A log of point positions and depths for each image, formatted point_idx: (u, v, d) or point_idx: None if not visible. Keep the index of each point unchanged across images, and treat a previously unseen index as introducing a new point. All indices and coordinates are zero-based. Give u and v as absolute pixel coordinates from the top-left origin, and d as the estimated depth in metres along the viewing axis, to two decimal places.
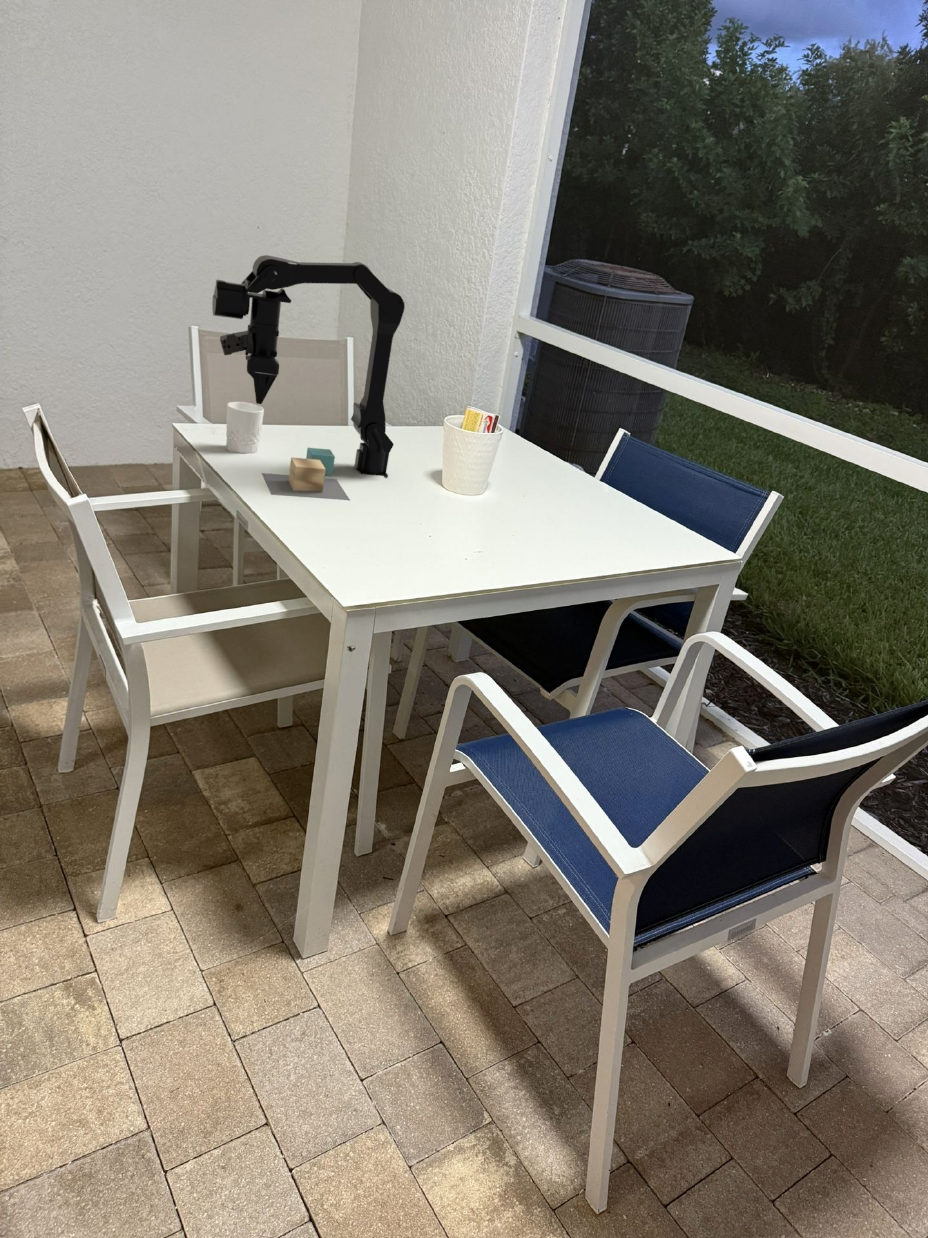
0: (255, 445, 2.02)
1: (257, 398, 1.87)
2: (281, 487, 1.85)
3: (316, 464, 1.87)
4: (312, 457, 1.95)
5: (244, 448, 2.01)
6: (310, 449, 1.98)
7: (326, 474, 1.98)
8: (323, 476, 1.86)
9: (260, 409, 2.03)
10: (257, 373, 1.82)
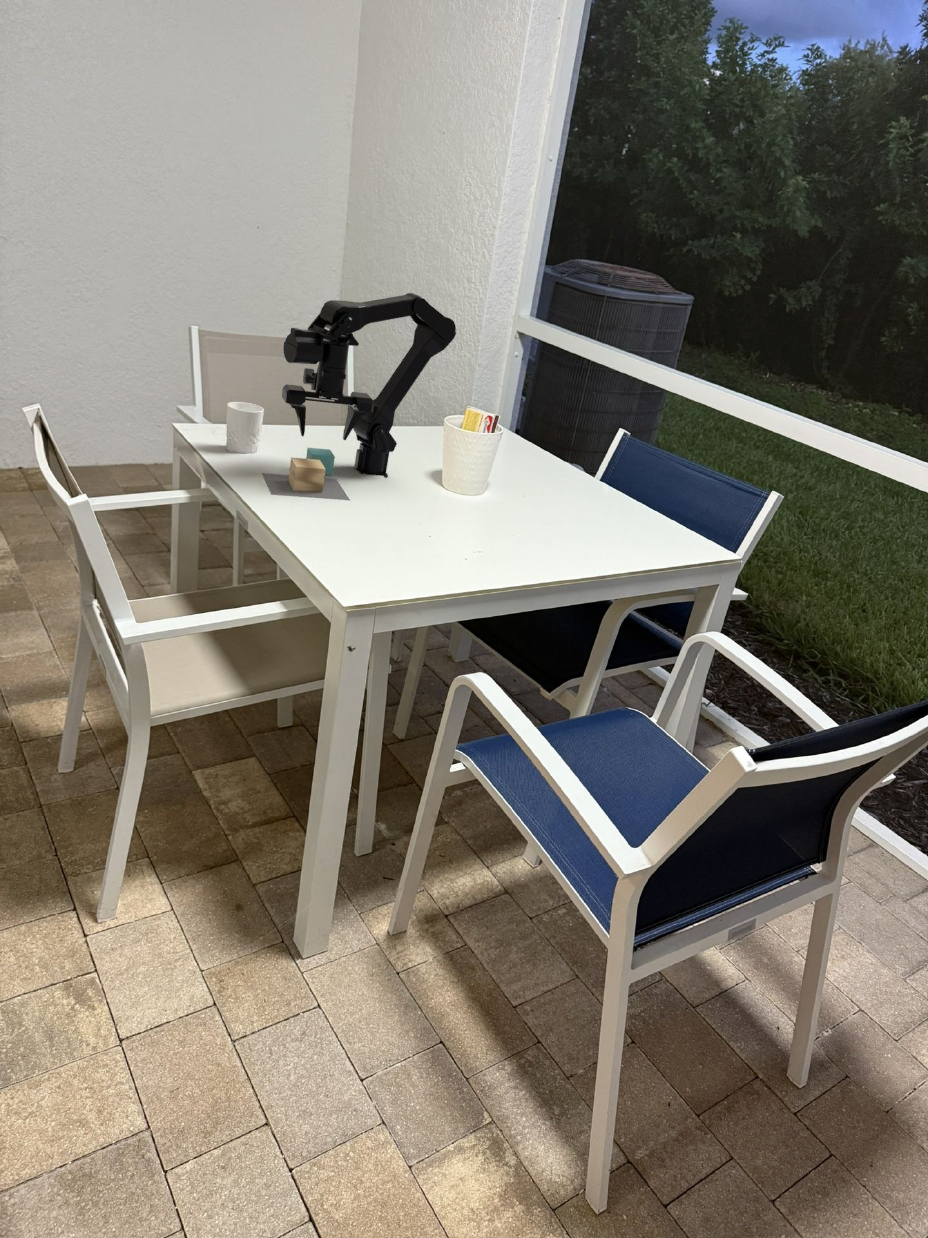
0: (255, 445, 2.02)
1: (300, 429, 1.95)
2: (281, 487, 1.85)
3: (316, 464, 1.87)
4: (312, 457, 1.95)
5: (244, 448, 2.01)
6: (310, 449, 1.98)
7: (326, 474, 1.98)
8: (323, 476, 1.86)
9: (260, 409, 2.03)
10: None
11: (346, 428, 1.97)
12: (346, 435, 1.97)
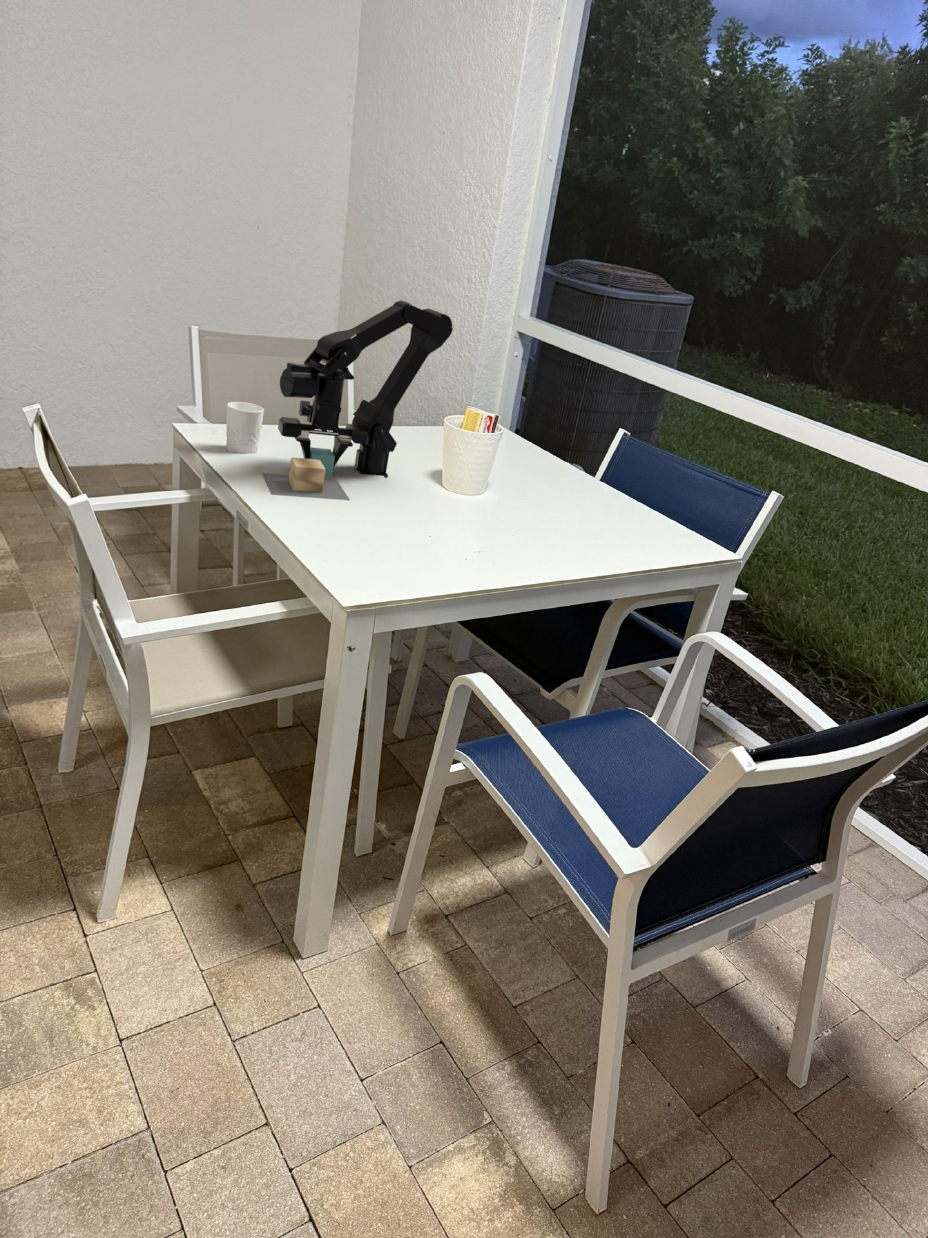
0: (255, 445, 2.02)
1: None
2: (281, 487, 1.85)
3: (316, 464, 1.87)
4: (312, 457, 1.95)
5: (244, 448, 2.01)
6: (310, 449, 1.98)
7: (326, 474, 1.98)
8: (323, 476, 1.86)
9: (260, 409, 2.03)
10: None
11: None
12: None
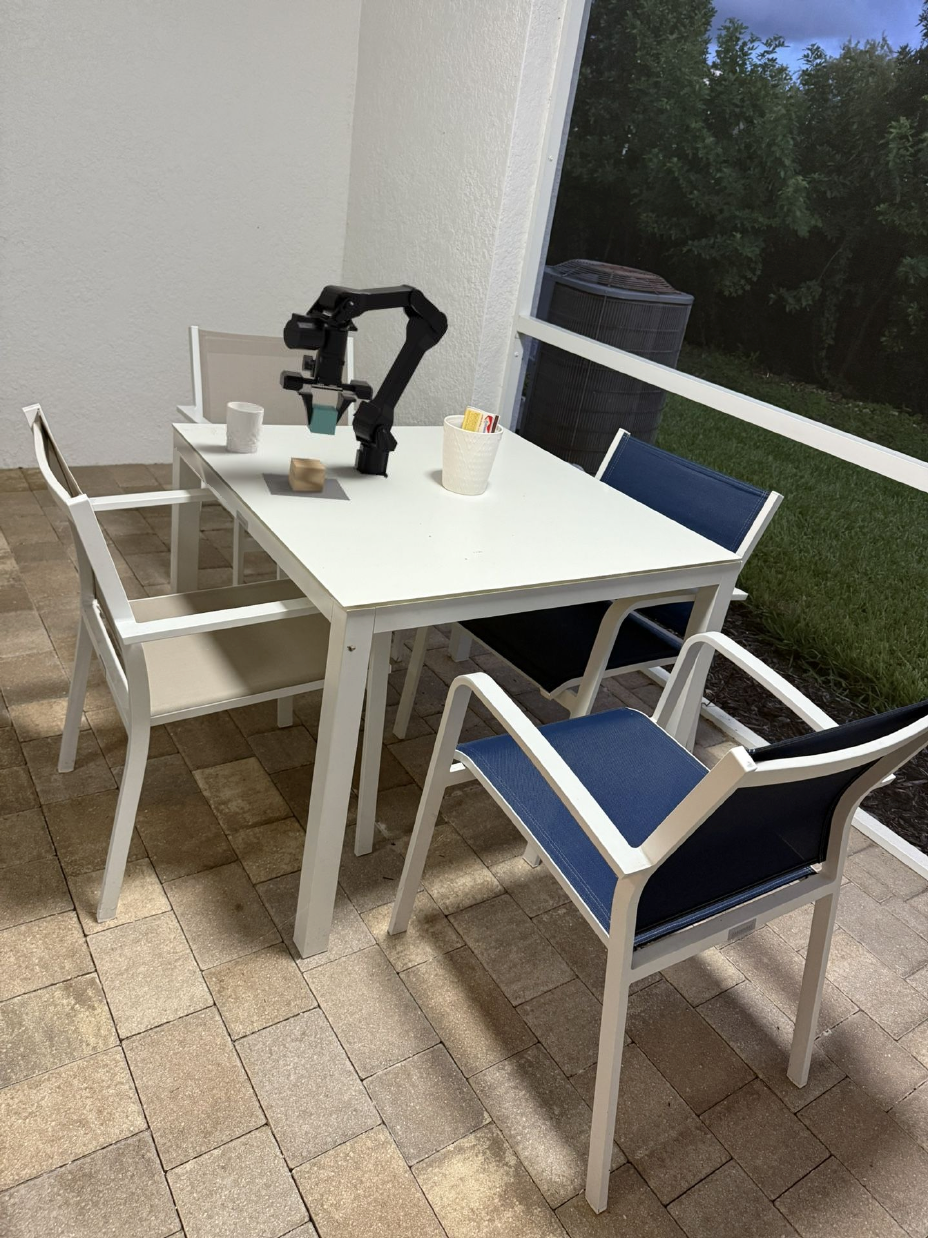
0: (255, 445, 2.02)
1: None
2: (281, 487, 1.85)
3: (316, 464, 1.87)
4: (314, 412, 1.89)
5: (244, 448, 2.01)
6: (312, 404, 1.92)
7: (329, 430, 1.92)
8: (323, 476, 1.86)
9: (260, 409, 2.03)
10: None
11: None
12: None
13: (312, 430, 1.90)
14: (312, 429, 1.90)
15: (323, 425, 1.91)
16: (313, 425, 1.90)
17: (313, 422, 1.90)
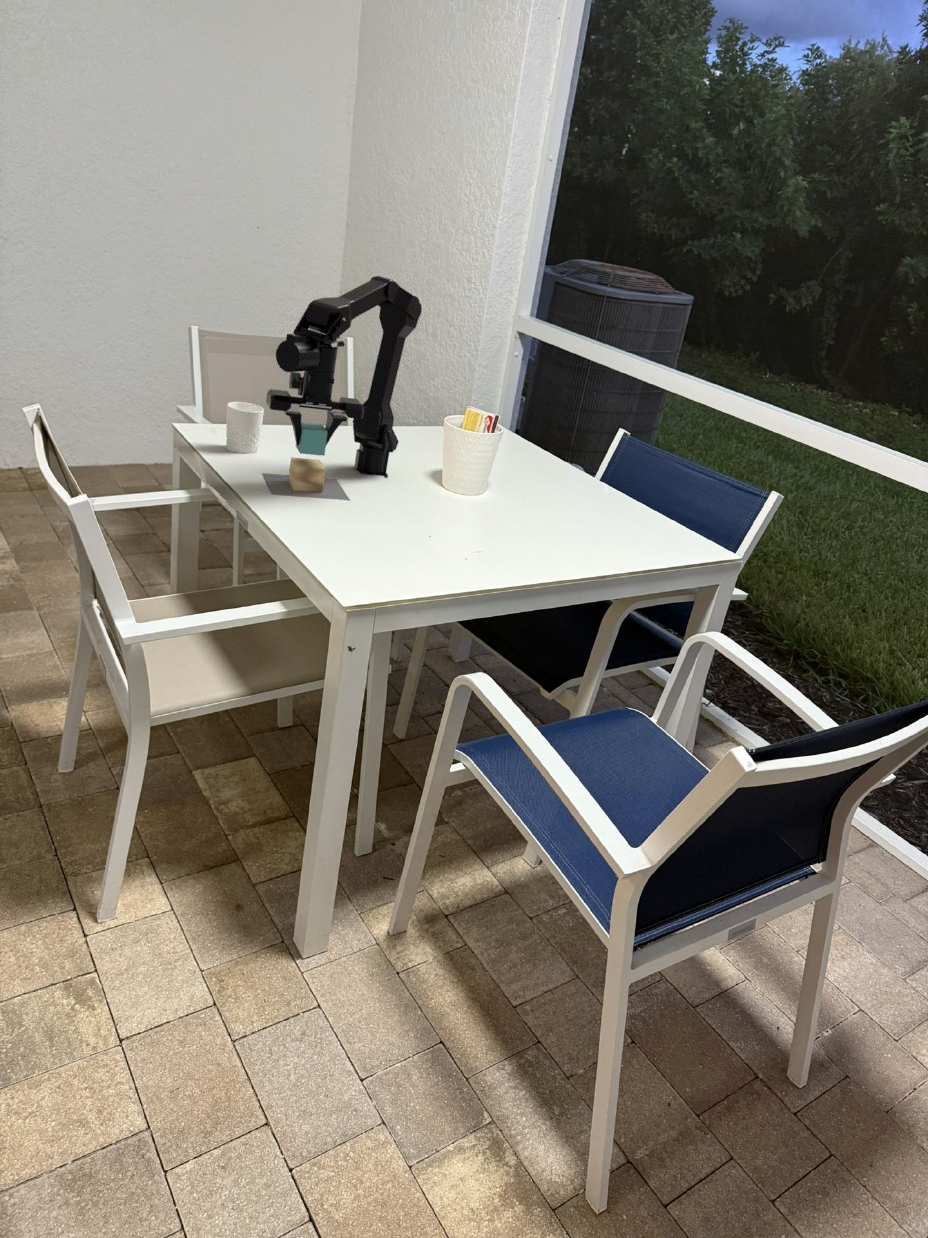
0: (255, 445, 2.02)
1: (295, 438, 1.84)
2: (281, 487, 1.85)
3: (316, 464, 1.87)
4: (303, 432, 1.81)
5: (244, 448, 2.01)
6: (301, 424, 1.84)
7: (318, 451, 1.84)
8: (323, 476, 1.86)
9: (260, 409, 2.03)
10: None
11: None
12: None
13: (301, 451, 1.83)
14: (301, 450, 1.82)
15: (313, 446, 1.83)
16: (302, 446, 1.82)
17: (302, 442, 1.82)
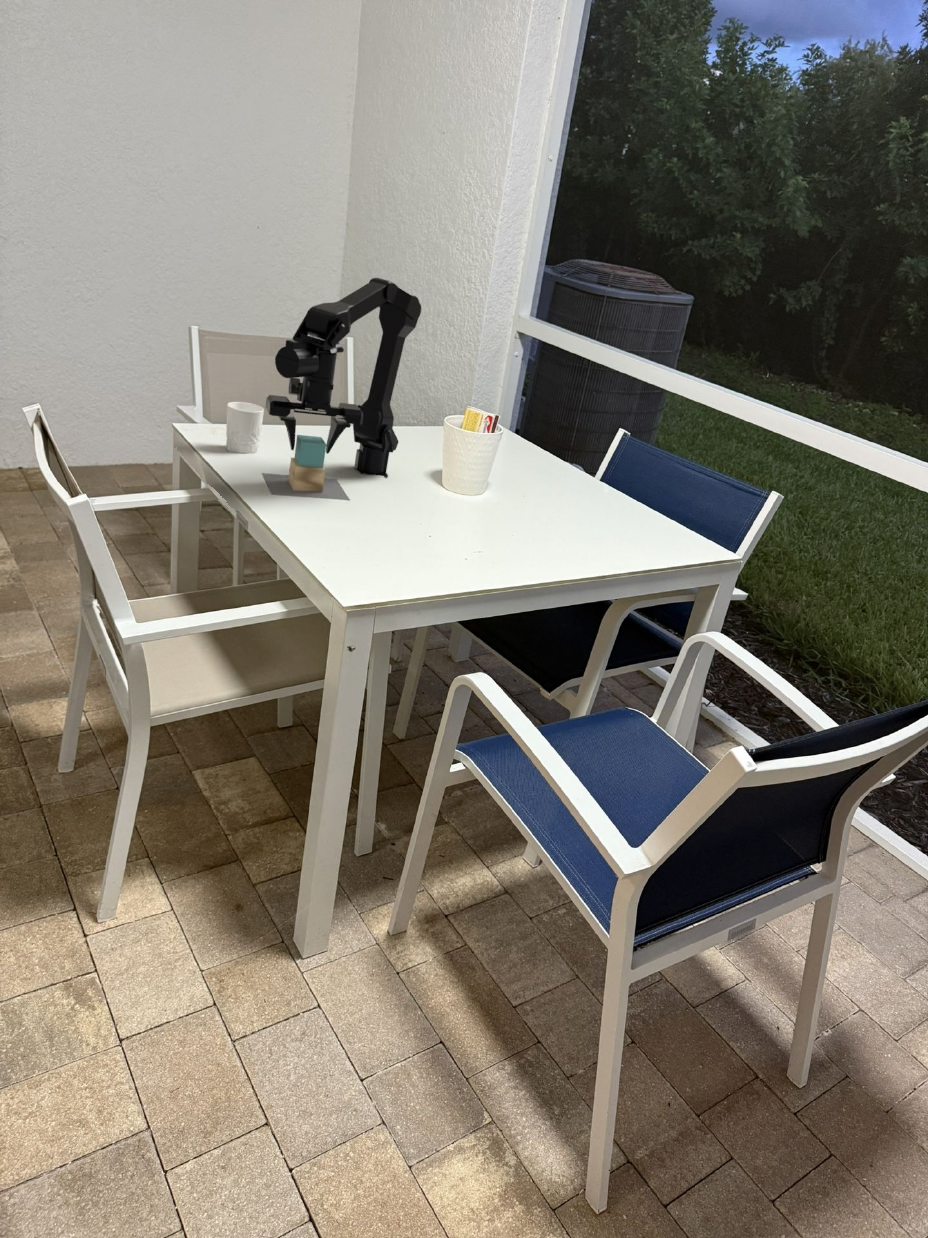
0: (255, 445, 2.02)
1: None
2: (281, 487, 1.85)
3: None
4: (302, 445, 1.82)
5: (244, 448, 2.01)
6: (300, 436, 1.85)
7: (317, 463, 1.85)
8: (323, 476, 1.86)
9: (260, 409, 2.03)
10: None
11: (329, 441, 1.85)
12: (329, 448, 1.86)
13: (300, 463, 1.84)
14: (300, 462, 1.84)
15: (311, 458, 1.84)
16: (301, 458, 1.83)
17: (301, 455, 1.83)
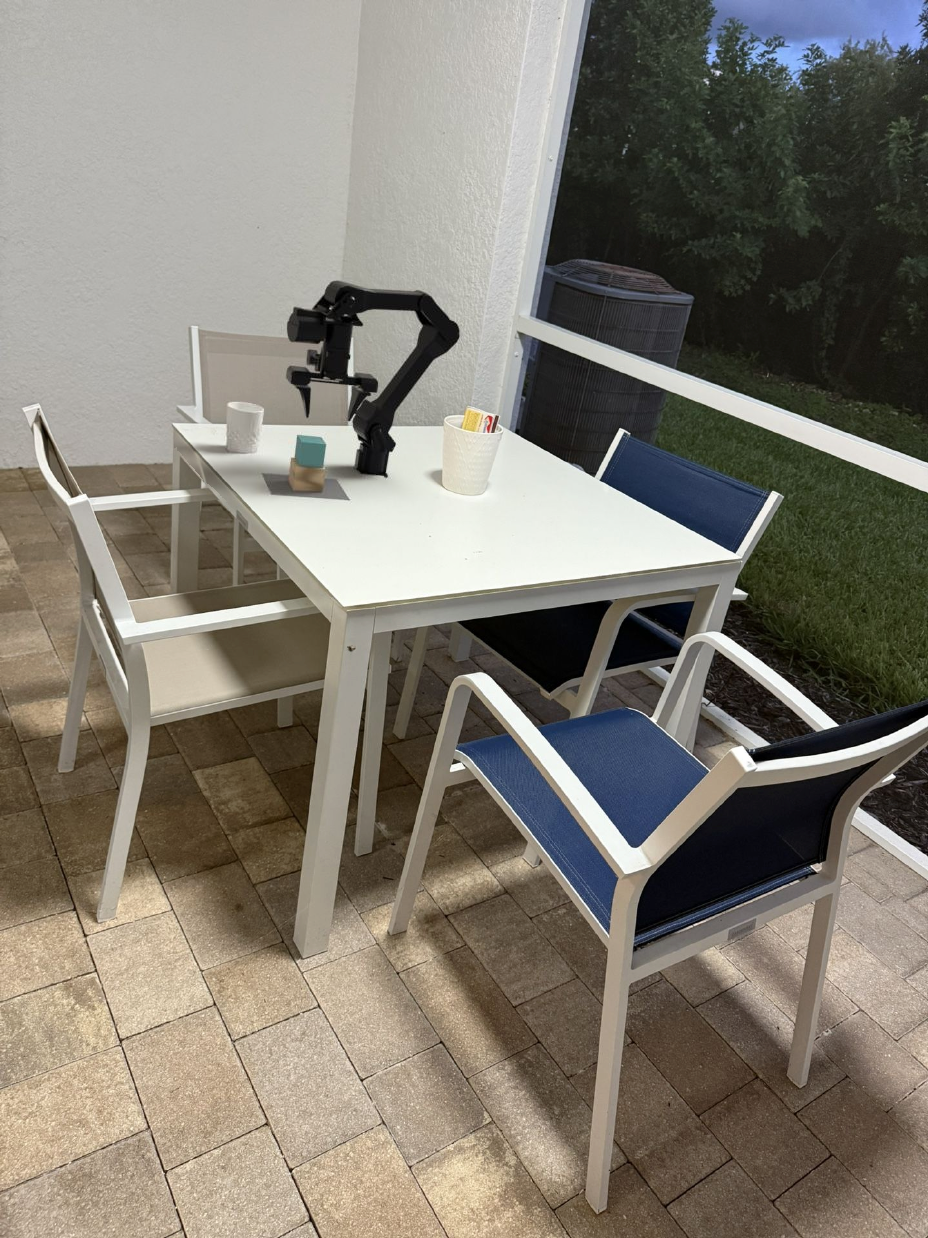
0: (255, 445, 2.02)
1: None
2: (281, 487, 1.85)
3: None
4: (302, 445, 1.82)
5: (244, 448, 2.01)
6: (300, 436, 1.85)
7: (317, 463, 1.85)
8: (323, 476, 1.86)
9: (260, 409, 2.03)
10: None
11: (350, 409, 1.97)
12: (350, 416, 1.97)
13: (300, 463, 1.84)
14: (300, 462, 1.84)
15: (311, 458, 1.84)
16: (301, 458, 1.83)
17: (301, 455, 1.83)
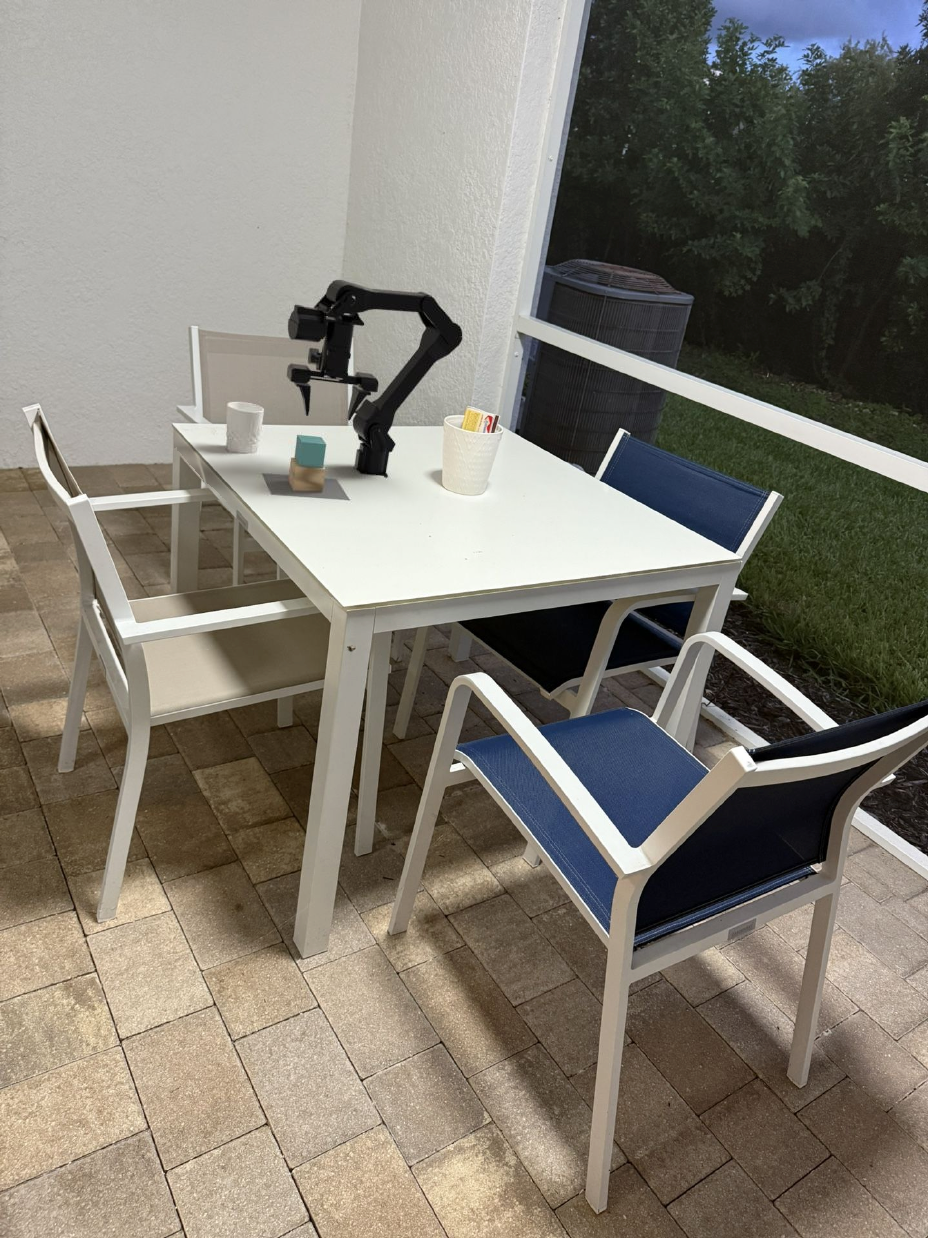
0: (255, 445, 2.02)
1: None
2: (281, 487, 1.85)
3: None
4: (302, 445, 1.82)
5: (244, 448, 2.01)
6: (300, 436, 1.85)
7: (317, 463, 1.85)
8: (323, 476, 1.86)
9: (260, 409, 2.03)
10: None
11: (350, 408, 1.97)
12: (350, 415, 1.97)
13: (300, 463, 1.84)
14: (300, 462, 1.84)
15: (311, 458, 1.84)
16: (301, 458, 1.83)
17: (301, 455, 1.83)
